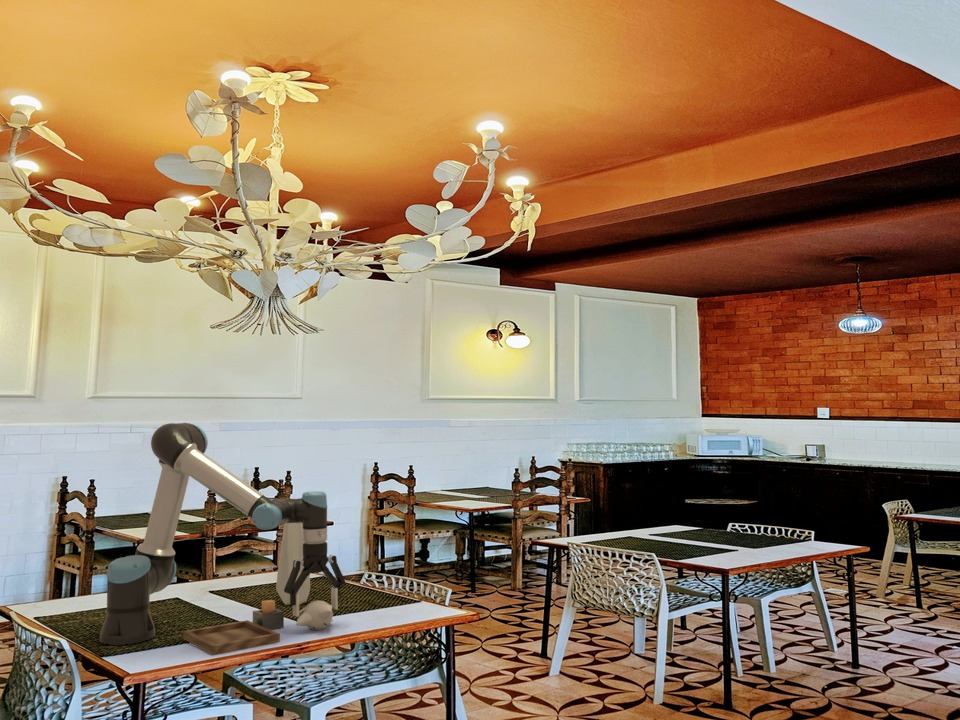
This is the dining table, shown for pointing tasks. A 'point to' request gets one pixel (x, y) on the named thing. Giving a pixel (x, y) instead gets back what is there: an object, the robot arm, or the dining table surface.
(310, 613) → the toy
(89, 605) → the dining table surface
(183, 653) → the dining table surface
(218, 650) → the tray
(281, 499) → the robot arm
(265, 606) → the orange block
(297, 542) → the vase
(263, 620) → the housing
